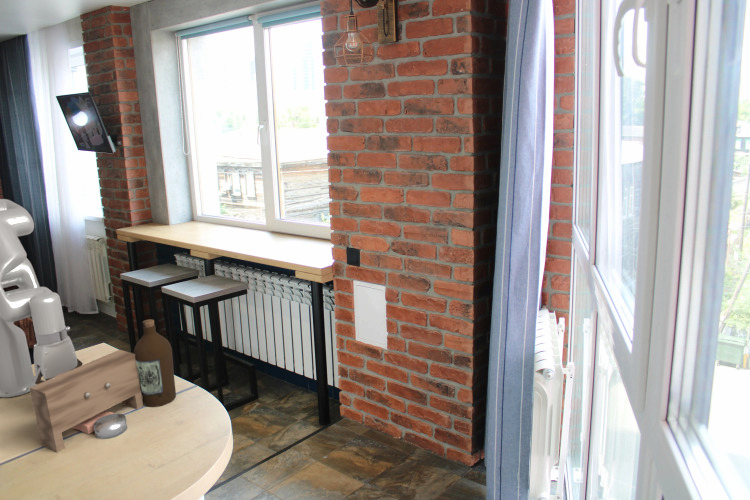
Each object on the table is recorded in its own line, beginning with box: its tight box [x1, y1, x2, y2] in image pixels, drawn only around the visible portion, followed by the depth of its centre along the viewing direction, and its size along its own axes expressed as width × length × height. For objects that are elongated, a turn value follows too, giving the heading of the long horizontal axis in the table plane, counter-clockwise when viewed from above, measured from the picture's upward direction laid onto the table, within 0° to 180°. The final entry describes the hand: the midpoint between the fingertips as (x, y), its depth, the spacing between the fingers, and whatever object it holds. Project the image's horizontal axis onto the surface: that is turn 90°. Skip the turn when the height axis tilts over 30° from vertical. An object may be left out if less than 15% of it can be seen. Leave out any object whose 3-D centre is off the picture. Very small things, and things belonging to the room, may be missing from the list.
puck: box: [93, 412, 128, 440], centre depth 156 cm, size 8×8×3 cm
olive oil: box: [132, 319, 177, 408], centre depth 169 cm, size 11×11×25 cm
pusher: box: [55, 371, 115, 435], centre depth 161 cm, size 19×8×14 cm, turn 59°
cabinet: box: [30, 349, 144, 453], centre depth 157 cm, size 8×26×17 cm, turn 149°
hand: (62, 394), depth 165 cm, fingers closed on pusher, 4 cm apart
